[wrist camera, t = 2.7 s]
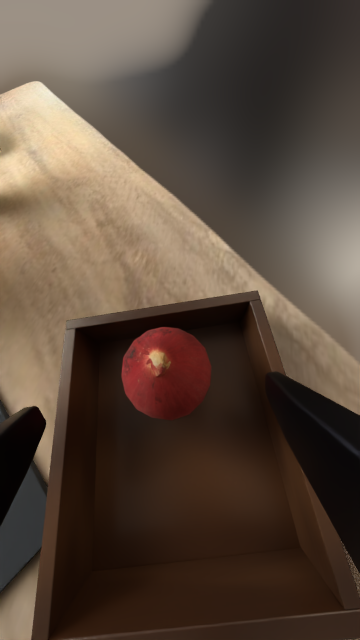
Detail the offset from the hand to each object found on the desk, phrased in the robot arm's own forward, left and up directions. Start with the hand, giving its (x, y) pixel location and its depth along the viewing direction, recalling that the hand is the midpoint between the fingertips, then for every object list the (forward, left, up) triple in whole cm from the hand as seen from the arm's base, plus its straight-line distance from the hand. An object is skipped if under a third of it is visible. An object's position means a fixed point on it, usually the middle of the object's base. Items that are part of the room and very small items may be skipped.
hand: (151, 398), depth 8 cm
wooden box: (-2, 0, -9) cm, 9 cm away
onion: (+2, 0, -9) cm, 9 cm away
